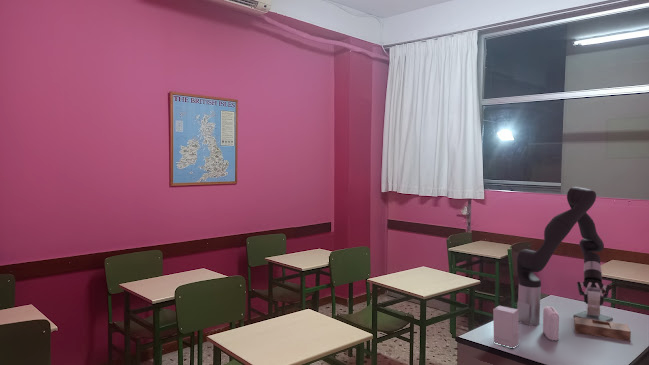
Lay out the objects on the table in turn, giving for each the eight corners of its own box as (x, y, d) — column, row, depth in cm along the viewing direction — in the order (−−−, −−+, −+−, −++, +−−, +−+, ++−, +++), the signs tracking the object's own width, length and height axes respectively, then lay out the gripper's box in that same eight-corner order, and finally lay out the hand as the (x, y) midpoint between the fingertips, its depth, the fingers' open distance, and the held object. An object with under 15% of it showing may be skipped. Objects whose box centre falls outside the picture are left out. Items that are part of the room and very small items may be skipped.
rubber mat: (600, 324, 205) (600, 322, 205) (573, 316, 215) (573, 314, 215) (612, 319, 212) (612, 317, 212) (586, 312, 222) (586, 310, 222)
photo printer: (541, 331, 197) (542, 303, 196) (552, 332, 196) (553, 304, 195) (548, 340, 187) (549, 311, 186) (559, 341, 186) (560, 312, 185)
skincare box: (519, 345, 181) (520, 309, 181) (512, 350, 177) (513, 313, 176) (498, 339, 187) (499, 304, 187) (492, 343, 183) (493, 307, 182)
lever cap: (598, 312, 215) (599, 286, 214) (599, 316, 210) (600, 289, 209) (586, 310, 217) (587, 285, 216) (587, 314, 212) (588, 288, 211)
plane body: (626, 333, 195) (627, 324, 195) (630, 341, 187) (630, 331, 187) (574, 325, 204) (574, 316, 204) (575, 332, 196) (575, 323, 196)
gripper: (576, 266, 222) (576, 297, 212) (610, 270, 216) (612, 302, 206) (575, 275, 227) (575, 305, 217) (608, 278, 221) (610, 310, 211)
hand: (593, 303), depth 211 cm, fingers open, 5 cm apart
